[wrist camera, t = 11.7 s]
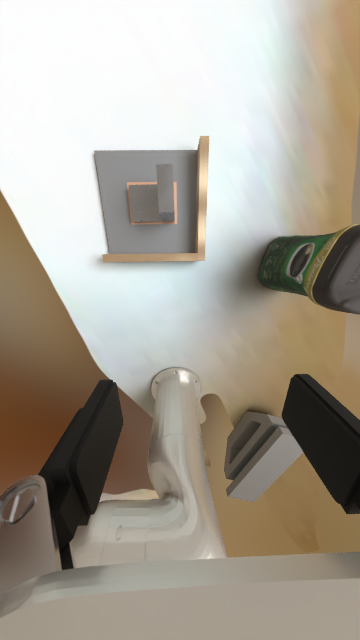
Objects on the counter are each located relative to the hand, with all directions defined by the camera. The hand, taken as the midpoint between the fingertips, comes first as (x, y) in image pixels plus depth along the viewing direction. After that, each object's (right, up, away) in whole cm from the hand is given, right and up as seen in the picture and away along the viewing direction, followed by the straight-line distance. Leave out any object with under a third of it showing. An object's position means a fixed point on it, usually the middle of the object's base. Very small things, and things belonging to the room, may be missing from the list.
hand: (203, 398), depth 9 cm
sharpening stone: (+19, -28, +42) cm, 53 cm away
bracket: (-6, +23, +20) cm, 31 cm away
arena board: (-6, +23, +21) cm, 32 cm away
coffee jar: (+18, +15, +25) cm, 34 cm away
